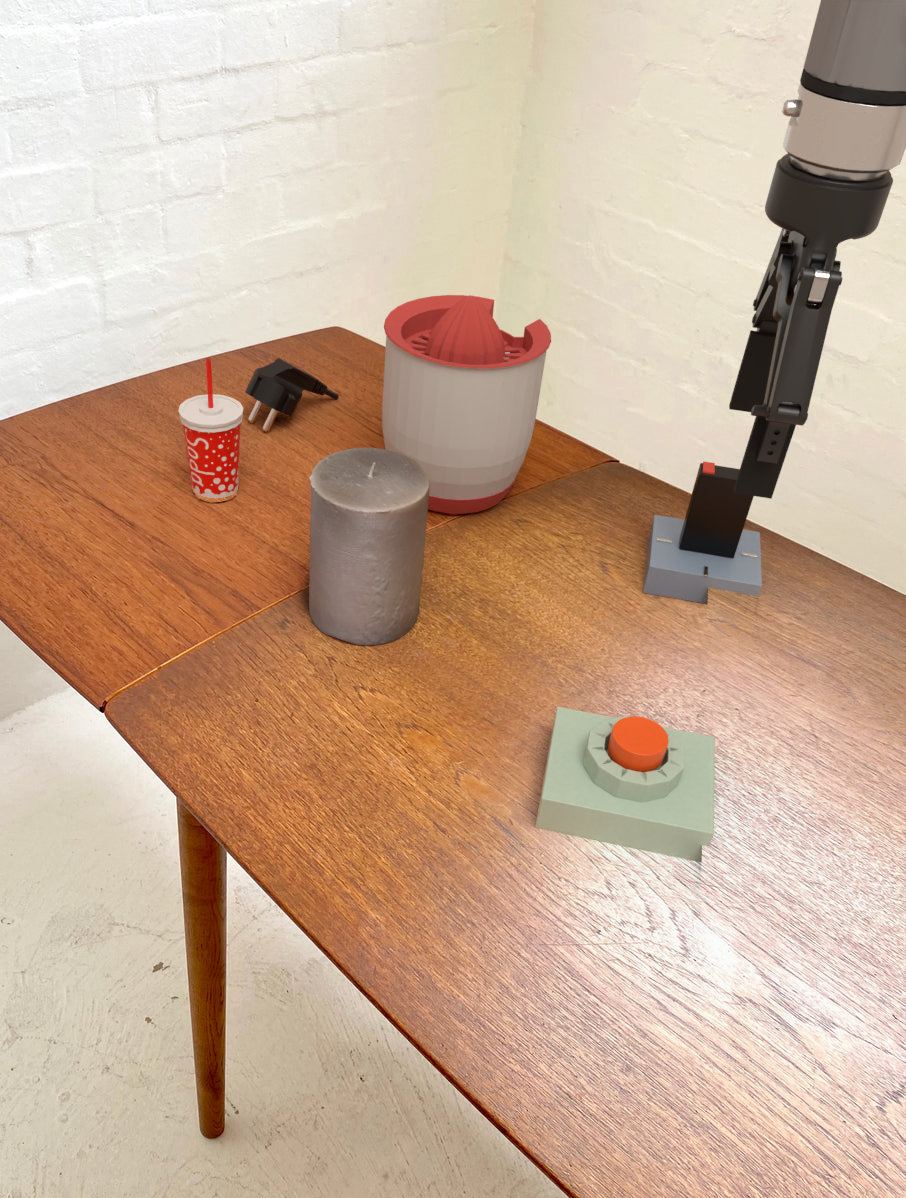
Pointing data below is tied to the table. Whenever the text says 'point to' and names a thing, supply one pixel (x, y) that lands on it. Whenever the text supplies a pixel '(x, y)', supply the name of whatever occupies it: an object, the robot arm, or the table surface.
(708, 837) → the push button base
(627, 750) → the orange push button
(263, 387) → the power plug
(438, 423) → the citrus juicer
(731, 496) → the black lever red tip
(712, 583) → the dial panel
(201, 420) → the beverage cup
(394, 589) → the pillar candle
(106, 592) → the table surface
